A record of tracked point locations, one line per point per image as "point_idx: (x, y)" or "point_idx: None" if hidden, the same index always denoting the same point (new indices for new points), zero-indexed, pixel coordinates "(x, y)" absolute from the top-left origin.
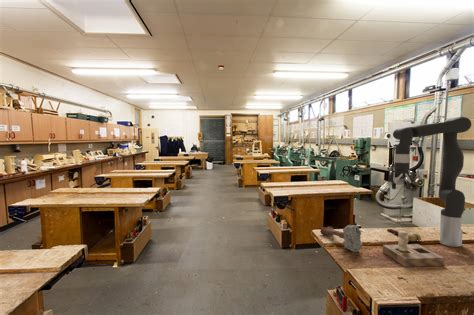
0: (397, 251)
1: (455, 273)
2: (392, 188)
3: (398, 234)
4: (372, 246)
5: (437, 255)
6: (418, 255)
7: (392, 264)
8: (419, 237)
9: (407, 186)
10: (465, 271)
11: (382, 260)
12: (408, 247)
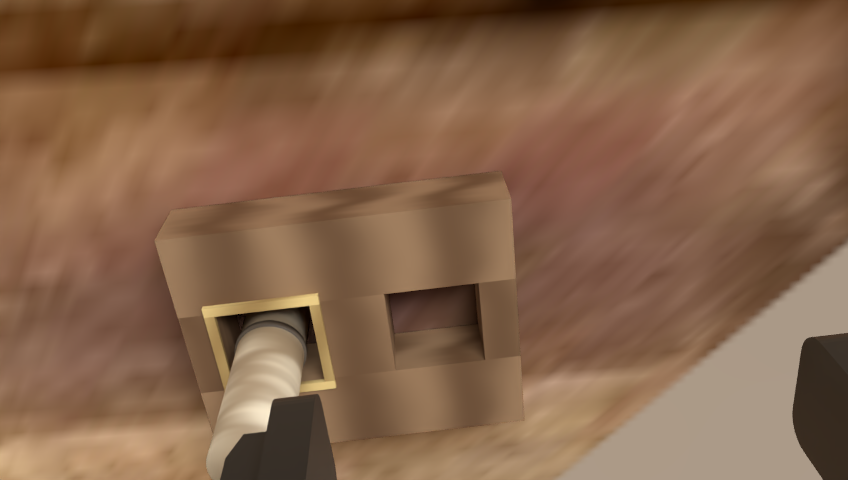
0: (218, 367)
1: (504, 457)
2: (275, 414)
3: (214, 431)
4: (117, 94)
5: (504, 393)
6: (355, 404)
7: (159, 392)
8: None
9: (841, 450)
10: (590, 433)
11: (109, 346)
12: (369, 277)
